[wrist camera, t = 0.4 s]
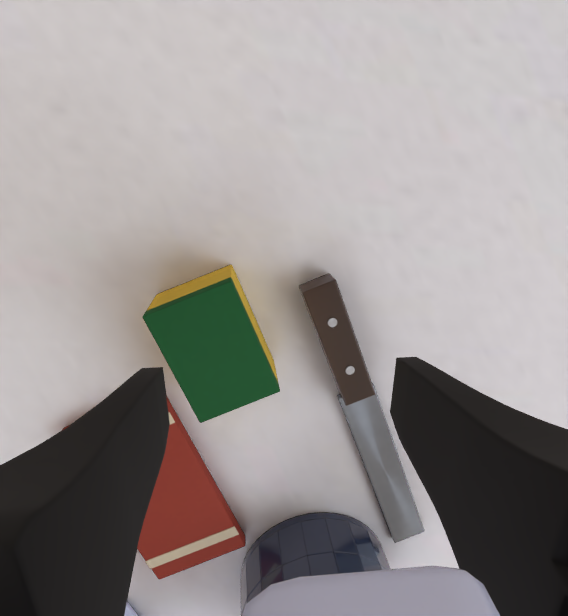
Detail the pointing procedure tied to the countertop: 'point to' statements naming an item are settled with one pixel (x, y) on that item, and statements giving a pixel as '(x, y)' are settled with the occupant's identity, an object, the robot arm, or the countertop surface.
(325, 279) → the knife
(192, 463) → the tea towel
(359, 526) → the pot
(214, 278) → the sponge
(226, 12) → the countertop surface
